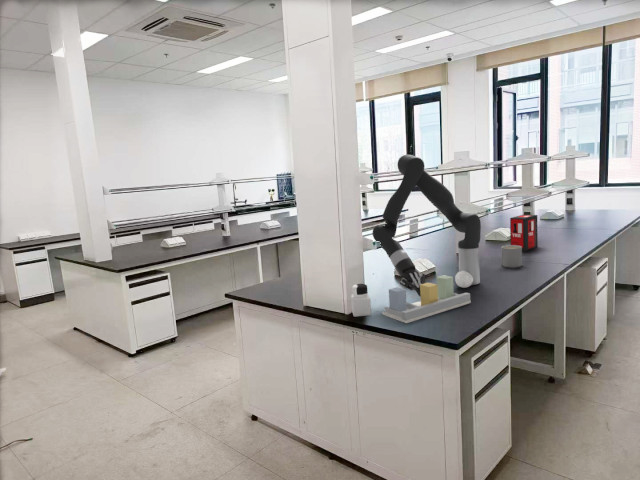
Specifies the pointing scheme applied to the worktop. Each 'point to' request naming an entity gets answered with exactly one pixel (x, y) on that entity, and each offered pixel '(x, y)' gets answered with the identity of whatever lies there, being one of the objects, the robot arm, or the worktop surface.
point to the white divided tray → (427, 308)
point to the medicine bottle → (360, 300)
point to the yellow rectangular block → (428, 293)
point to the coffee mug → (511, 256)
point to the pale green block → (445, 286)
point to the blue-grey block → (397, 299)
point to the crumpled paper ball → (463, 279)
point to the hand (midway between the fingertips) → (423, 296)
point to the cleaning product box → (524, 231)
